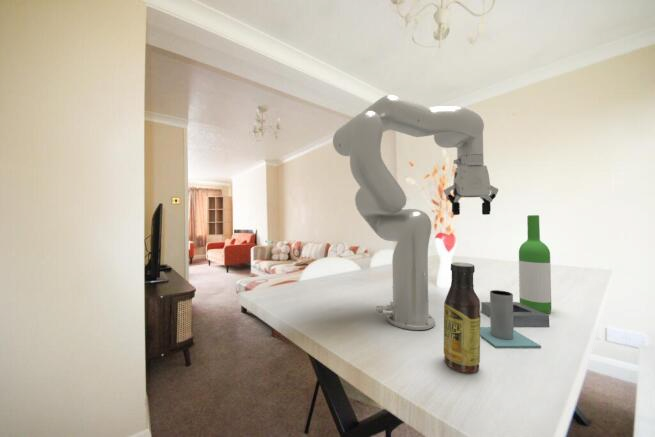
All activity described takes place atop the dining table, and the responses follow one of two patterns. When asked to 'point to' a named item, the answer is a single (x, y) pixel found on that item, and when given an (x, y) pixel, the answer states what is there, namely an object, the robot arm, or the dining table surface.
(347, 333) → the dining table surface
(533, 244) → the wine bottle
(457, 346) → the sauce bottle
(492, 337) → the mat
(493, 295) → the grey cylinder
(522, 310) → the socket block
